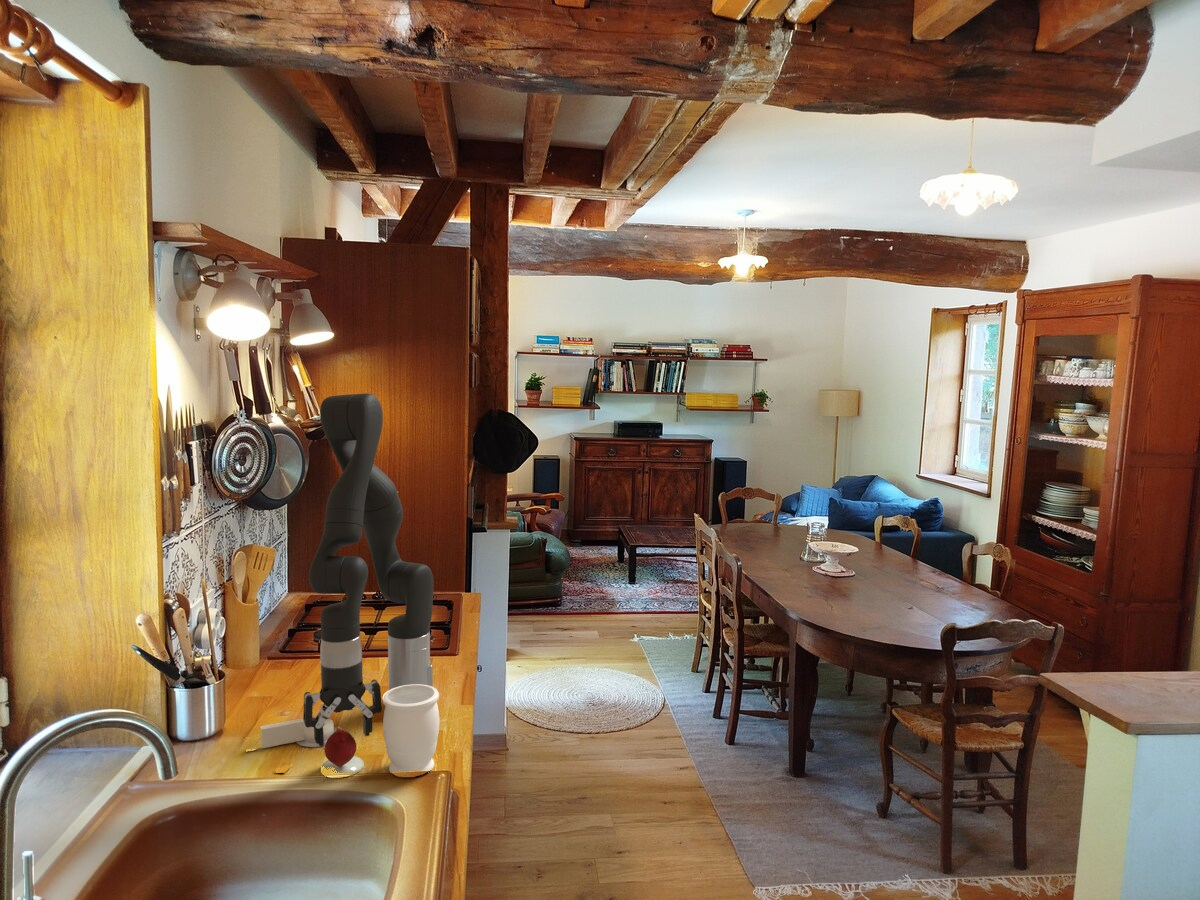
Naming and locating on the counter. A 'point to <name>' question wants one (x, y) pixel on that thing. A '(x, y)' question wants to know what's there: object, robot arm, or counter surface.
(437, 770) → the counter surface
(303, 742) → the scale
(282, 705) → the counter surface
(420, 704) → the jar
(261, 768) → the counter surface
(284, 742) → the handle
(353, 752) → the onion
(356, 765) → the coaster
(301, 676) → the counter surface
